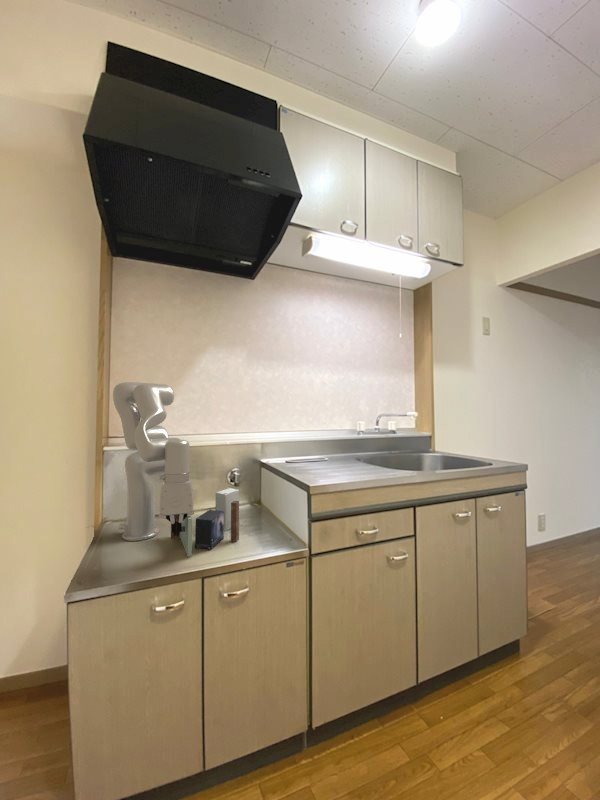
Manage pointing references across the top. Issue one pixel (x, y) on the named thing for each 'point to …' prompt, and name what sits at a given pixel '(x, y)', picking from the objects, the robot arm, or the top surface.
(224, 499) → the skincare box
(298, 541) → the top surface
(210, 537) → the small box
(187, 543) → the door
